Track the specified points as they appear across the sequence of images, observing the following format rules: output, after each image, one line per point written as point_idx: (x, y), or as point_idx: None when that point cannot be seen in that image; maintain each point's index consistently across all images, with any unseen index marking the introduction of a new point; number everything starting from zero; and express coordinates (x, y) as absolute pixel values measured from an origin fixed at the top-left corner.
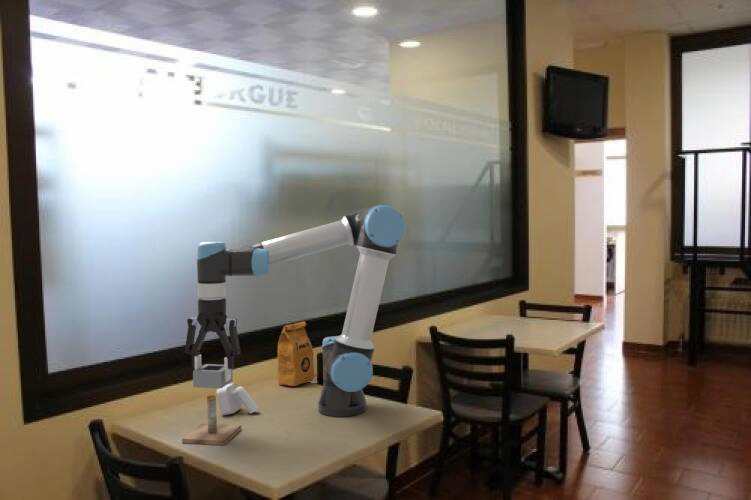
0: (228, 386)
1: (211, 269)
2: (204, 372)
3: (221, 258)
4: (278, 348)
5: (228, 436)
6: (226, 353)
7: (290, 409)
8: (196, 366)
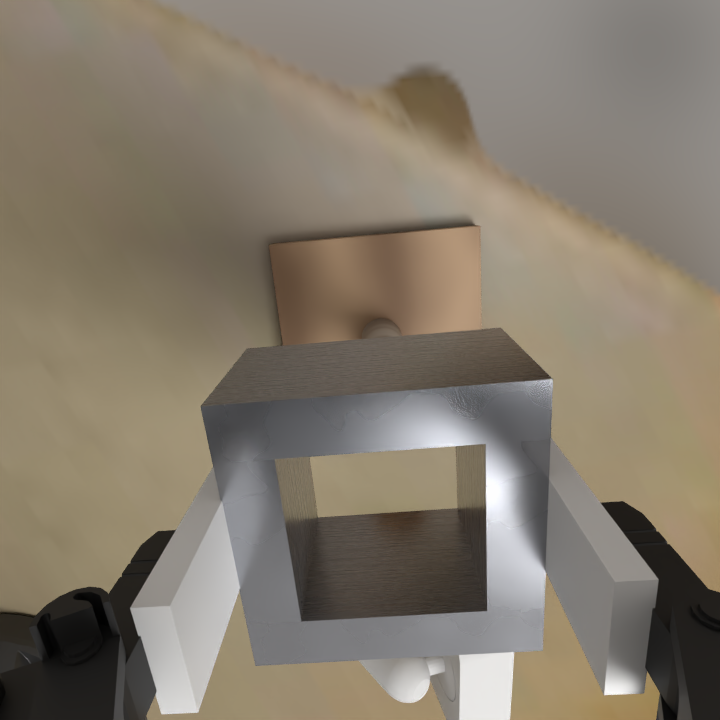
0: (461, 680)
1: None
2: (402, 385)
3: None
4: None
5: (277, 298)
6: (105, 676)
7: (219, 653)
8: (567, 493)
